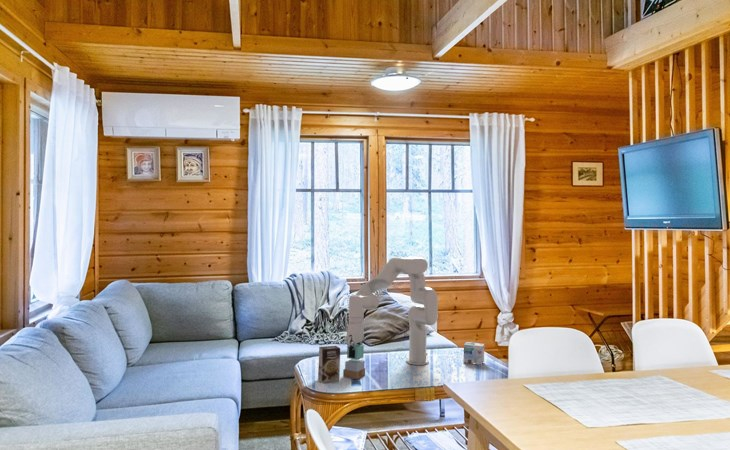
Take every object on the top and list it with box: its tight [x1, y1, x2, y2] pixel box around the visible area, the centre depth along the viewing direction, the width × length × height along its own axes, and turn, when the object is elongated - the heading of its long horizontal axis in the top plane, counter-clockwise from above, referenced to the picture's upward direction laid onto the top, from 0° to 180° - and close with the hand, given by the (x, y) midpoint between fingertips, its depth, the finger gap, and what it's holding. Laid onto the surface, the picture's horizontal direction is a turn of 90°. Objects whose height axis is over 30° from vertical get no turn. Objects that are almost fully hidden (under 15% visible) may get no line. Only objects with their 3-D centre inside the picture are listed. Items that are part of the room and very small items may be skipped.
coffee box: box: [317, 345, 341, 384], centre depth 237 cm, size 9×6×16 cm
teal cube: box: [346, 344, 365, 360], centre depth 245 cm, size 6×6×6 cm
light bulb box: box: [462, 341, 485, 365], centre depth 275 cm, size 11×7×11 cm, turn 68°
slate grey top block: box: [344, 359, 366, 372], centre depth 244 cm, size 7×7×4 cm
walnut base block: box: [342, 367, 366, 380], centre depth 245 cm, size 8×8×4 cm
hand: (355, 355), depth 245 cm, fingers closed on teal cube, 6 cm apart
